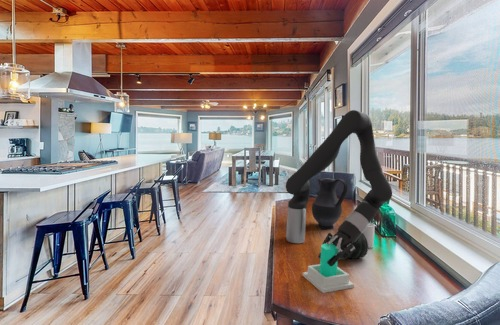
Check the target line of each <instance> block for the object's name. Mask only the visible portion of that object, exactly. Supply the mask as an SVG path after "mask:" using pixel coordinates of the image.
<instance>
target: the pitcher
mask: <svg viewBox="0 0 500 325" xmlns="http://www.w3.org/2000/svg"><path fill="white" fill-rule="evenodd" d="M317 182H318V184H319V190H318V193H317V195H316V198H315V200H314V201H313V202H312V204H311V215H312V216H313V219H314V220H315V222H317V225H316V227H317V228H318V229H319V228H320V229H322V230H333V229H334V224H336V223H337V222H338V221H339V219H340V218H341V216H342V212H343V206H342V204H343V201H344V199H345V197H346V195H347V192H348V184H347V182H346V180H344V179H343V178H336V179H333V178H322V179H321V178H317ZM339 182H341V183H342V184H343V190H342V193H341V195H340V196H339V198H338V197H337V193H336V191H337V190H336V189H337V187H338V186H337V185H338V184H339Z"/></svg>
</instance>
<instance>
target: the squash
mask: <svg viewBox="0 0 500 325" xmlns="http://www.w3.org/2000/svg"><path fill="white" fill-rule="evenodd" d="M352 245H353V246H354V247H355V248H356V250H355V251H354V252H353V253H352V254H351V255H349V256H348V257H347V258H346V259H361V258H364V257H366V255H367V253H368V251H369V248H368V242H367V239H366V237H365V235H364V234H363V233H362V234H361V235H360V237H359V238H358V239H357V240H356V242H354V243H353V242H352ZM345 254H346V253H345ZM345 254H344V255H345Z"/></svg>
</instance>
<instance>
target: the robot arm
mask: <svg viewBox="0 0 500 325" xmlns="http://www.w3.org/2000/svg"><path fill="white" fill-rule="evenodd" d="M372 123H373V122H372V119H371V117H370V116H369V115H368V114H367V113H365V112H362V111H359V110H356V109H353V110H350V111H347V112H346V113H345V114H344V115H343V117H342V118H341V119H340V120H339V122H338V124H337V125H336V126H335V127H334V129H333V130H332V131H331V133H330V134H329V135H328V136H327V137H326V138H325V140H323V142H322V143H321V144H320V145H319V146H318V147H317V148H316V149H315V150H314V152H312V154H311V155H310V156H309V158H307V160H306V161H305V162H304V163H303V164H302V165H301V166H300V168H299V169H297V170H296V171H295V172H294V173H293V174H292V175H291V176H290V177H289V178H288V179H287V180H286V183H285V190H286V191H287V192H286V193H288V194H290V195H293V196H292V197H291V199H290V200H288V203H287V220H286V230H285V231H286V233H285V237H286V241H287V242H289V243H292V244H302V243H305V241H306V240H305V239H306V238H305V237H306V223H307V205H308V203H309V199H310V191H311V190H310V189H311V183H310V180H311V179H312V178H313V177H314V176H317V175H319V174H320V173H321V172H323V171H325V170H326V169H327V168H328V167H330V165H331V164H332V163H334V161H335V160H336V159H337V157H338V155H339V153H340V149H341V146H342V144H343V143H344V142H345V141H346V139H347V138H349V137H350V135H352V134H354V135H356V137H357V138H358V141H359V145H360V153H359V160H360V161H359V162H360V166H361V171H362V174H363V176H364V178H365V180H366V181H367V182H369V185H370V187H371V189H370V190H368V192H367V193H366V194H365V197H364V198H363V199H362V201H361V202H360V203H359V204H358V205H357V206H356V208H354V210H353V211H352V212H350V213H349V214H348V216H347V217H346V218H345V219H344V220H343V222H342V223H341V224H340V225H339V226H338V228H337V232H336V233H333V234H332V233H331V232H328V233H327V234H326V236H325V238H324V240H323V242H322V244H329V245H331V244H333V245H335V246H337V247H336V249H337V251H336V253H335V255H334V256H333V257H332V258H331V259H329V260H328V262H327V263H328V264H329V265H330V266H333V265H334V264H335V263H336V262H337V263H338V261H339V260H341V259H342V260H343V261H344V260H346V259H348V258H347V257H348V256H349V255H351V254H352V253H353V252H354V251H355V250H356V248H355V247H354V246H353V245H352V242H353V243H354V242H356V240H357V239H358V238H359V237H360V235H361V234H362V233H363V232H364V230H365V229H366V228H367V226H368V224H369V223H372V221H373V219H374V218H375V217H376V215H377V212H378V211H379V210H380V209H381V207H382V206H383V205H385V203H387V202H389V201H390V200H391V199H392V196H393V191H392V190H393V189H392V186H391V184H390V182H389V180H388V179H387V177H386V176H385V174H384V172H383V168H382V164H381V161H380V159H379V156H378V152H377V148H376V142H375V137H374V136H375V135H374V128H373V124H372ZM322 244H321V245H322ZM345 253H346V254H345ZM344 254H345V255H344ZM318 259H319V260H320V259H321V252H320V253H319V254H318Z"/></svg>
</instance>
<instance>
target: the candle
mask: <svg viewBox="0 0 500 325" xmlns="http://www.w3.org/2000/svg"><path fill="white" fill-rule="evenodd" d="M336 247H337V246H335V245H333V243H332V244H331V245H329V244H327V243H326V244H321V247H320V253H321V259H320V258H319V261H320V262H319V264H320V274H322V275H323V276H324V277H329V276H336V275H337V267H338V261H337V262H336V263H335V264H334V265H333V266H330V265H329V264H328V263H327V262H328V260H329V259H331V258H332V257H333V256H334V255H335V253H336V251H337V249H336Z"/></svg>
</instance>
